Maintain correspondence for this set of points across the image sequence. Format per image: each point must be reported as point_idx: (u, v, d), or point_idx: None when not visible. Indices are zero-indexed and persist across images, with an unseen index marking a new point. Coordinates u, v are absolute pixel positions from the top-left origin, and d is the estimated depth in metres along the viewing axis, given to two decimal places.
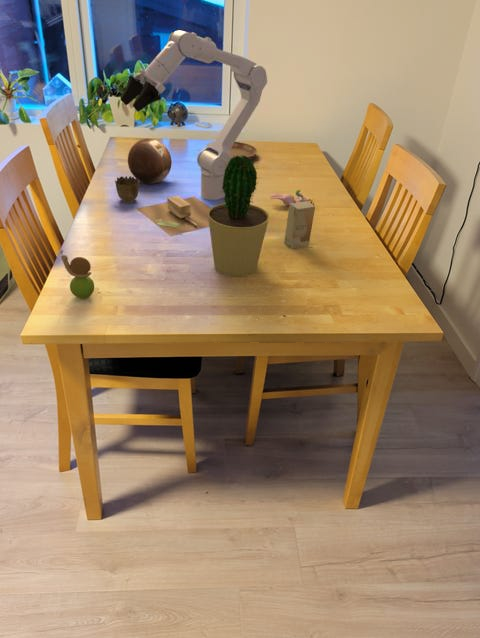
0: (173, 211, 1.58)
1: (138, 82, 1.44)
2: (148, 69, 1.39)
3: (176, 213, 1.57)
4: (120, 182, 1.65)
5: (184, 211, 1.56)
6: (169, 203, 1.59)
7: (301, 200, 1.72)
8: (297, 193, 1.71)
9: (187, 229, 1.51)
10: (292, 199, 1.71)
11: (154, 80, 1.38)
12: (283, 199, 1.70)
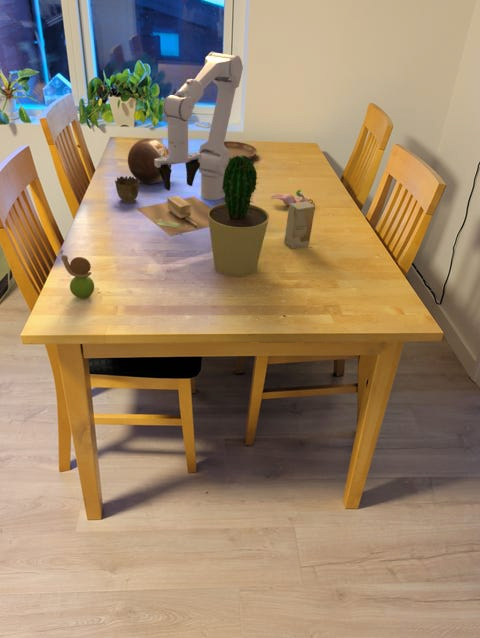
0: (173, 211, 1.58)
1: None
2: (184, 155, 1.47)
3: (176, 213, 1.57)
4: (120, 182, 1.65)
5: (184, 211, 1.56)
6: (169, 203, 1.59)
7: (302, 200, 1.72)
8: (298, 193, 1.71)
9: (187, 229, 1.51)
10: (292, 199, 1.71)
11: (194, 157, 1.51)
12: (283, 199, 1.70)
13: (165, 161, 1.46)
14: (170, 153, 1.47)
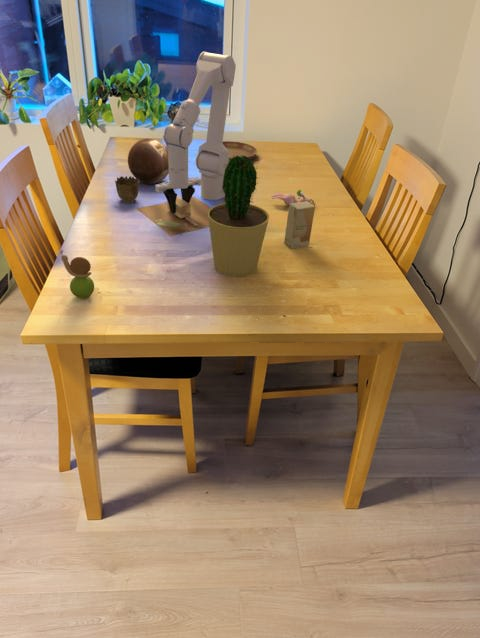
0: None
1: None
2: (184, 180, 1.52)
3: (176, 213, 1.57)
4: (120, 182, 1.65)
5: (184, 211, 1.56)
6: None
7: (302, 200, 1.72)
8: (298, 193, 1.71)
9: (187, 229, 1.51)
10: (293, 199, 1.71)
11: (194, 182, 1.56)
12: (284, 199, 1.70)
13: (166, 187, 1.51)
14: (171, 179, 1.51)
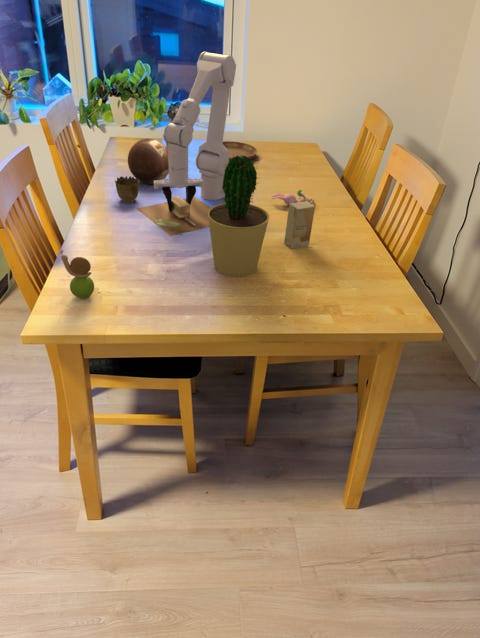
0: (173, 211, 1.58)
1: (170, 189, 1.54)
2: (182, 180, 1.51)
3: (176, 213, 1.57)
4: (120, 182, 1.65)
5: (183, 211, 1.56)
6: None
7: (303, 200, 1.72)
8: (299, 193, 1.71)
9: (187, 229, 1.51)
10: (293, 199, 1.71)
11: (195, 183, 1.54)
12: (284, 199, 1.70)
13: (162, 184, 1.52)
14: (169, 177, 1.52)
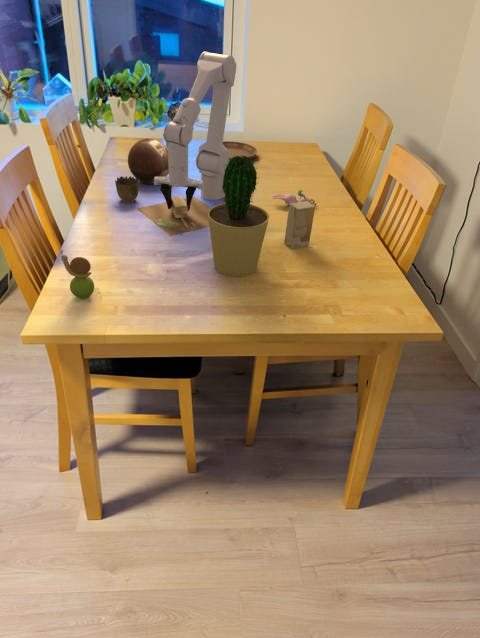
0: (173, 210, 1.59)
1: (169, 186, 1.55)
2: (178, 179, 1.51)
3: (174, 213, 1.57)
4: (120, 182, 1.65)
5: (180, 211, 1.55)
6: None
7: (303, 200, 1.72)
8: (299, 193, 1.71)
9: (187, 229, 1.51)
10: (294, 199, 1.71)
11: (192, 184, 1.52)
12: (285, 199, 1.70)
13: (161, 180, 1.53)
14: None
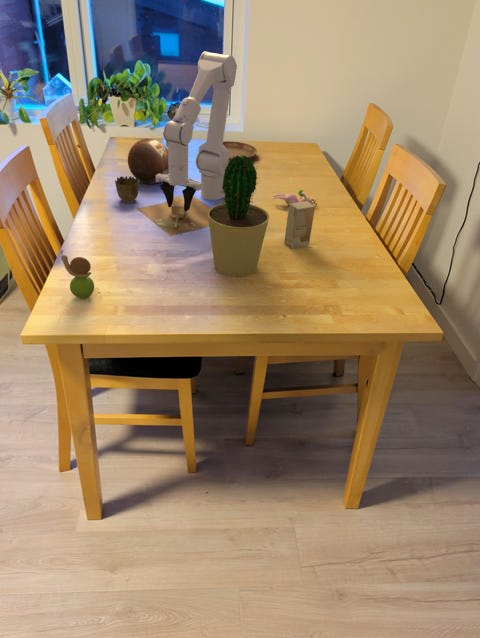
0: None
1: (169, 185, 1.55)
2: (175, 178, 1.51)
3: None
4: (120, 182, 1.65)
5: (176, 211, 1.55)
6: None
7: (304, 200, 1.72)
8: (300, 193, 1.71)
9: (187, 229, 1.51)
10: (295, 199, 1.71)
11: (190, 185, 1.51)
12: (286, 199, 1.70)
13: (161, 178, 1.54)
14: None
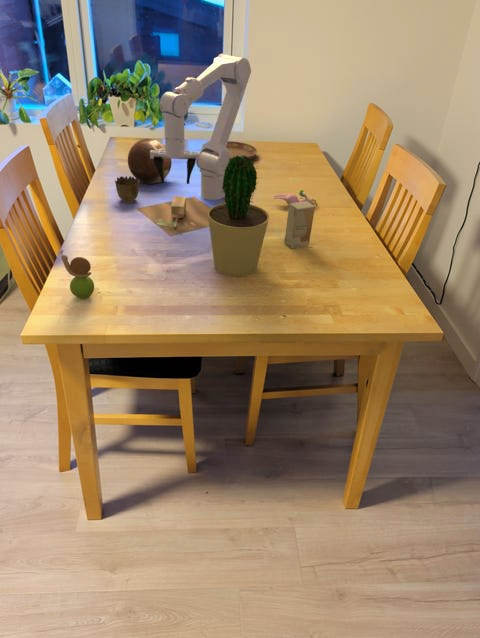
0: None
1: (162, 159, 1.54)
2: (176, 151, 1.50)
3: None
4: (120, 182, 1.65)
5: (176, 211, 1.55)
6: None
7: (304, 200, 1.72)
8: (300, 193, 1.71)
9: (187, 229, 1.51)
10: (295, 199, 1.71)
11: (190, 156, 1.52)
12: (286, 199, 1.70)
13: (157, 153, 1.52)
14: (165, 147, 1.52)
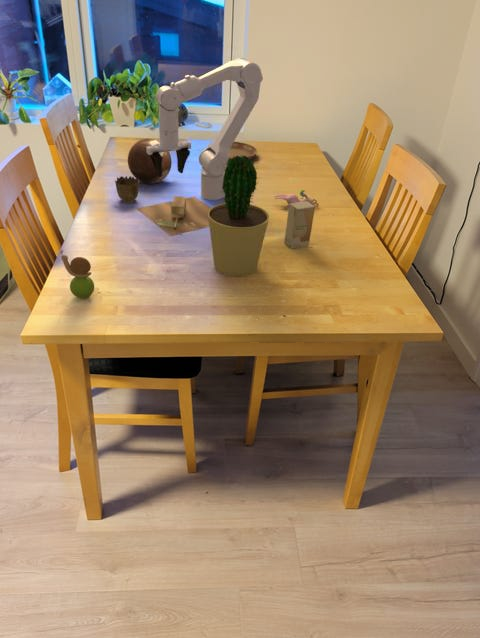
0: None
1: None
2: (175, 143, 1.56)
3: None
4: (120, 182, 1.65)
5: (176, 211, 1.55)
6: None
7: (305, 200, 1.72)
8: (301, 193, 1.71)
9: (187, 229, 1.51)
10: (296, 199, 1.71)
11: (184, 145, 1.60)
12: (287, 199, 1.70)
13: (156, 149, 1.55)
14: (161, 141, 1.56)
